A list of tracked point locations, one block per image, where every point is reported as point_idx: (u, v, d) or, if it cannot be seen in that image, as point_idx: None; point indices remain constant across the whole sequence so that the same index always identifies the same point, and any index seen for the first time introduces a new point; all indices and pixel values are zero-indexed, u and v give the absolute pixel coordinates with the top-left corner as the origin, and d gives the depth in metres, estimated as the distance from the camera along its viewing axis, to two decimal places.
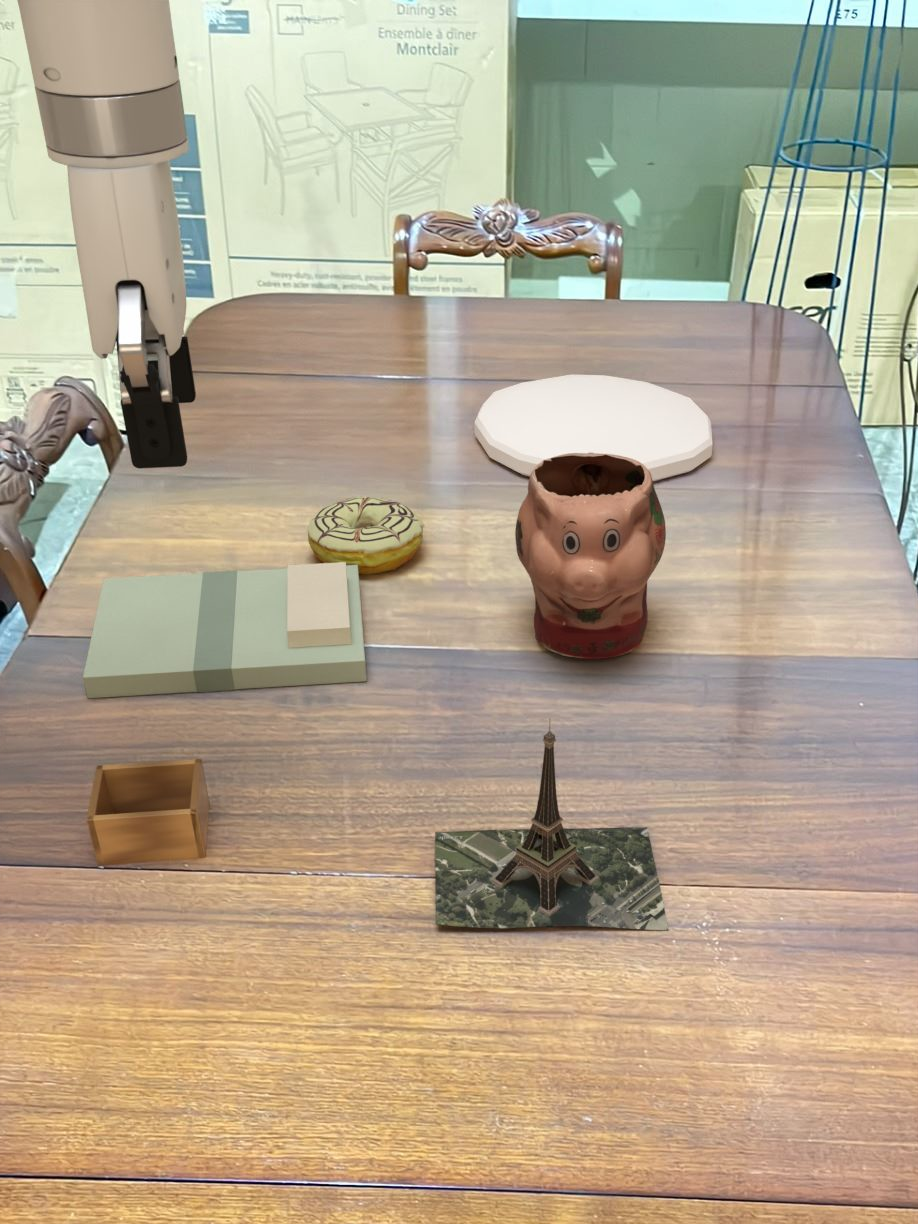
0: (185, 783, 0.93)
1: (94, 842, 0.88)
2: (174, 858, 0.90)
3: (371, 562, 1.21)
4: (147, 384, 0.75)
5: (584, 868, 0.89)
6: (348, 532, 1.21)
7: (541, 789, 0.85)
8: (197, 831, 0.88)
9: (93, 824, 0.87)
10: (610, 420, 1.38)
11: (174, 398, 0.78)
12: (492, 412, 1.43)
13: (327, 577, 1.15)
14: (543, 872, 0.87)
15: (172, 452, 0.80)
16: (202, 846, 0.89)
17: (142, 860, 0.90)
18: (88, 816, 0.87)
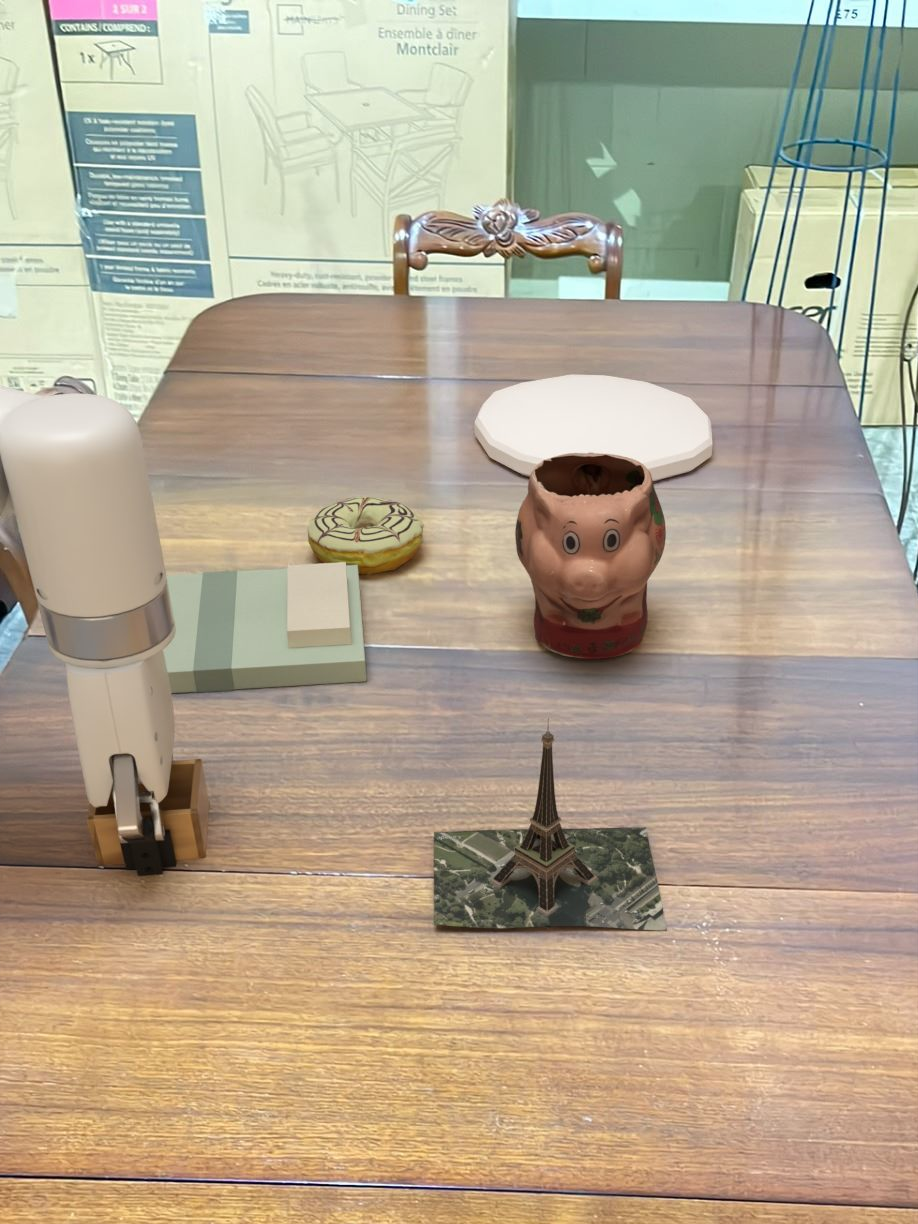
0: (185, 783, 0.93)
1: (94, 842, 0.88)
2: None
3: (371, 562, 1.21)
4: (143, 837, 0.85)
5: (583, 868, 0.89)
6: (348, 532, 1.21)
7: (539, 789, 0.85)
8: (197, 831, 0.88)
9: (93, 824, 0.87)
10: (610, 420, 1.38)
11: (166, 833, 0.88)
12: (492, 412, 1.43)
13: (327, 577, 1.15)
14: (541, 872, 0.87)
15: None
16: (202, 846, 0.89)
17: None
18: (88, 816, 0.87)
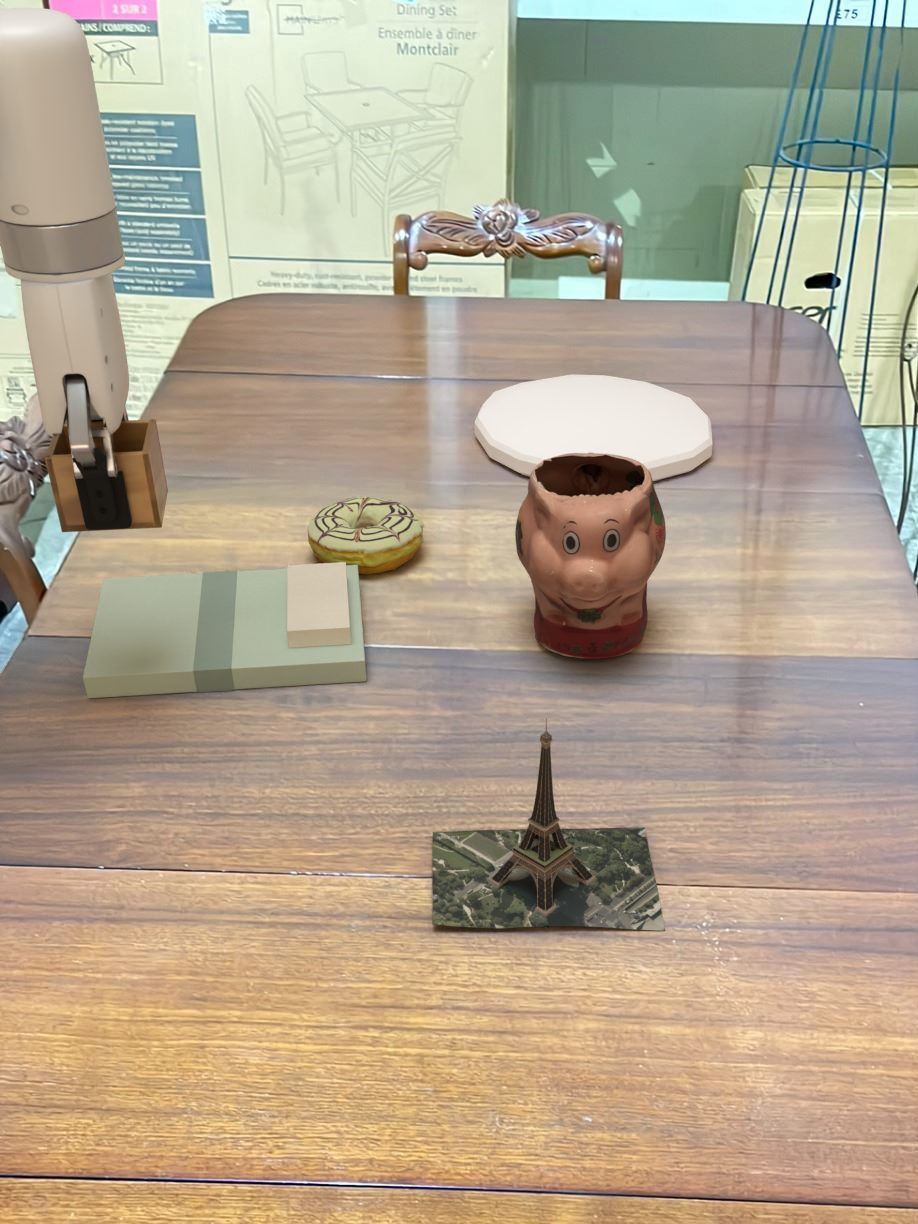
0: (140, 444, 0.98)
1: (52, 483, 0.94)
2: None
3: (371, 562, 1.21)
4: (95, 465, 0.91)
5: (581, 868, 0.89)
6: (348, 532, 1.21)
7: (538, 789, 0.85)
8: (149, 475, 0.94)
9: (51, 463, 0.93)
10: (610, 420, 1.38)
11: (119, 473, 0.94)
12: (492, 412, 1.43)
13: (327, 577, 1.15)
14: (540, 872, 0.87)
15: (119, 517, 0.95)
16: (154, 492, 0.95)
17: None
18: (47, 456, 0.93)
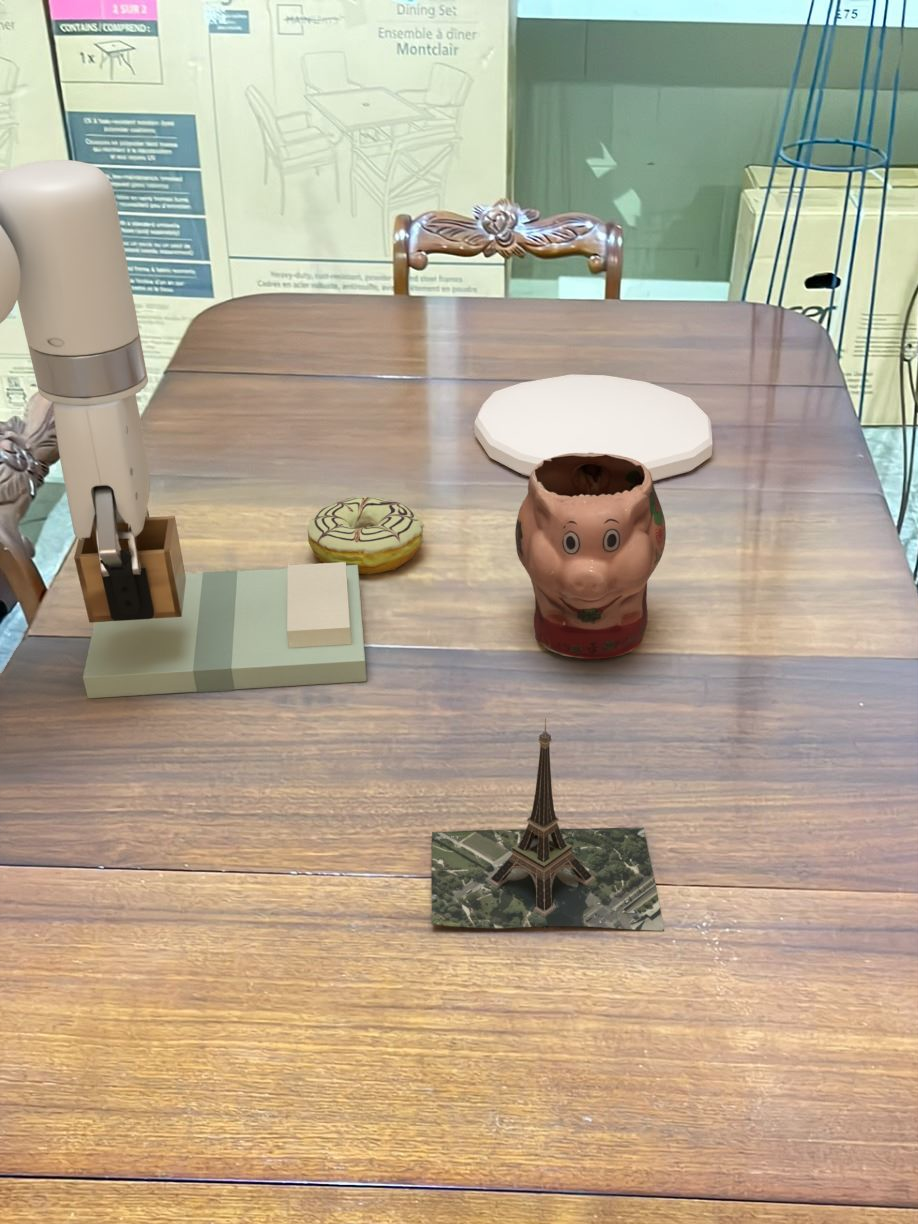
0: (161, 538, 1.06)
1: (81, 579, 1.02)
2: (151, 597, 1.03)
3: (371, 562, 1.21)
4: (121, 566, 0.98)
5: (580, 868, 0.89)
6: (348, 532, 1.21)
7: (537, 789, 0.85)
8: (170, 570, 1.02)
9: (80, 561, 1.01)
10: (610, 420, 1.38)
11: (142, 570, 1.01)
12: (492, 412, 1.43)
13: (327, 577, 1.15)
14: (539, 872, 0.87)
15: (142, 609, 1.03)
16: (175, 586, 1.03)
17: None
18: (76, 555, 1.01)
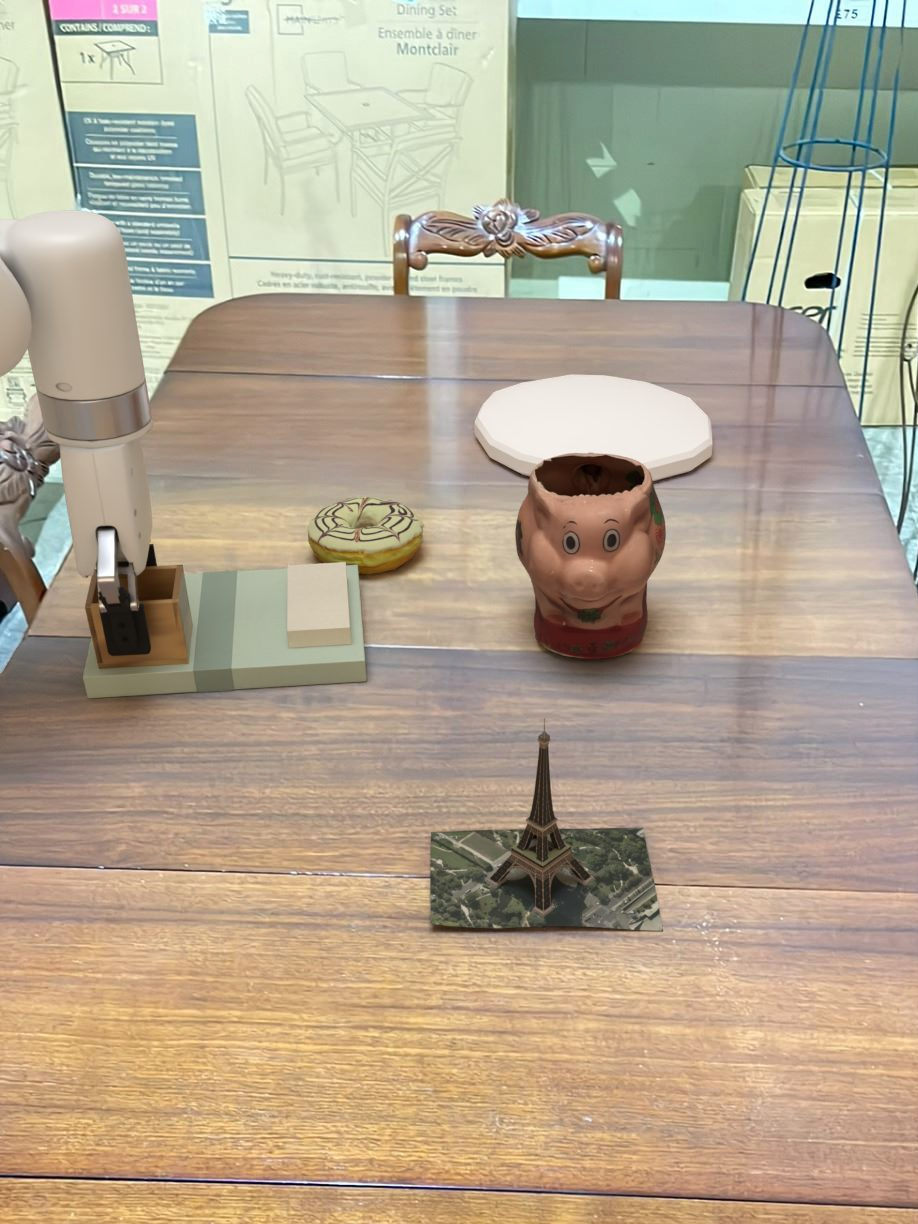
0: (168, 586, 1.09)
1: (91, 628, 1.04)
2: (159, 645, 1.06)
3: (371, 562, 1.21)
4: (119, 602, 0.98)
5: (579, 868, 0.89)
6: (348, 532, 1.21)
7: (536, 789, 0.85)
8: (178, 619, 1.05)
9: (90, 611, 1.03)
10: (610, 420, 1.38)
11: (140, 606, 1.01)
12: (492, 412, 1.43)
13: (327, 577, 1.15)
14: (538, 872, 0.87)
15: (139, 644, 1.03)
16: (182, 634, 1.06)
17: None
18: (86, 604, 1.04)
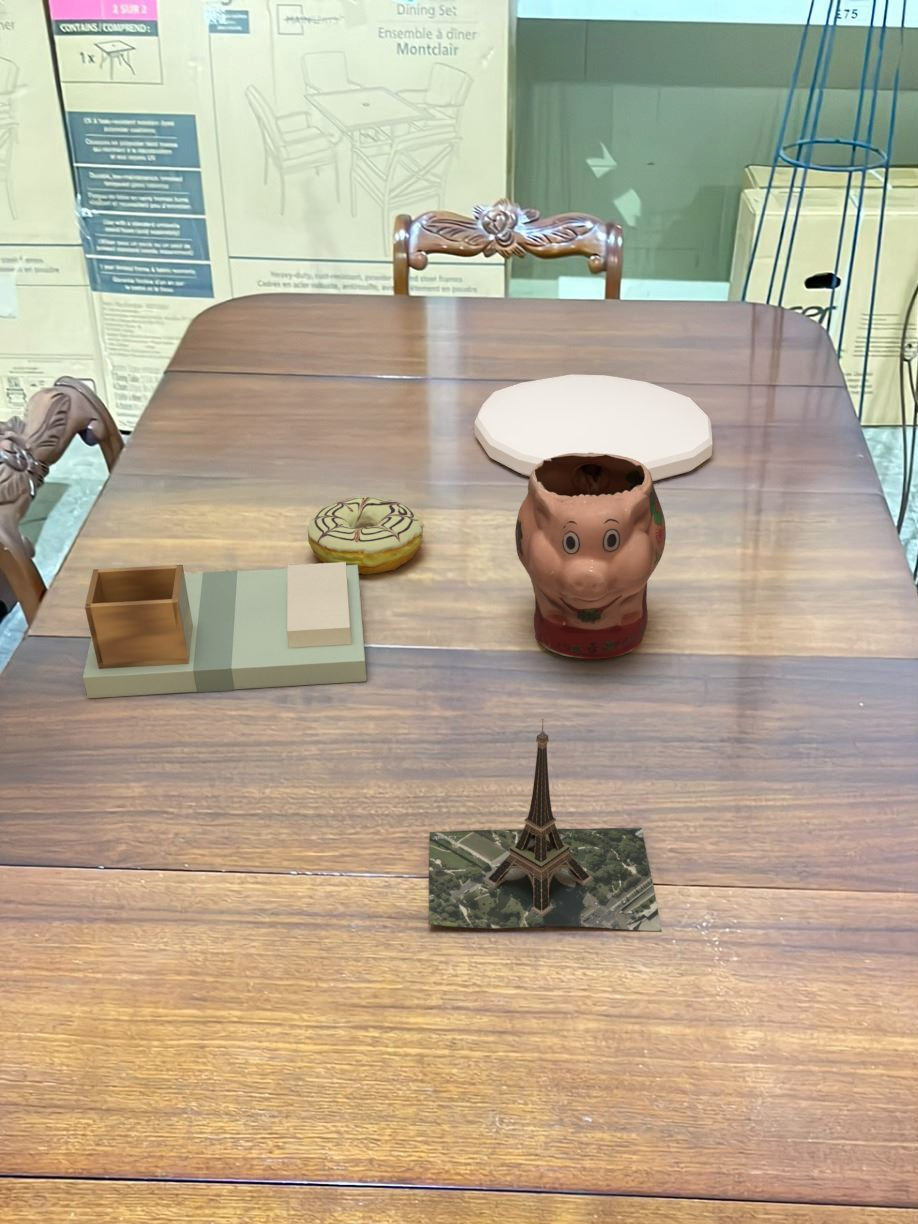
0: (168, 586, 1.09)
1: (91, 628, 1.04)
2: (159, 645, 1.06)
3: (371, 562, 1.21)
4: None
5: (577, 868, 0.89)
6: (348, 532, 1.21)
7: (534, 789, 0.85)
8: (178, 619, 1.05)
9: (90, 611, 1.03)
10: (610, 420, 1.38)
11: None
12: (492, 412, 1.43)
13: (327, 577, 1.15)
14: (536, 872, 0.87)
15: None
16: (182, 634, 1.06)
17: (132, 646, 1.06)
18: (86, 604, 1.04)
